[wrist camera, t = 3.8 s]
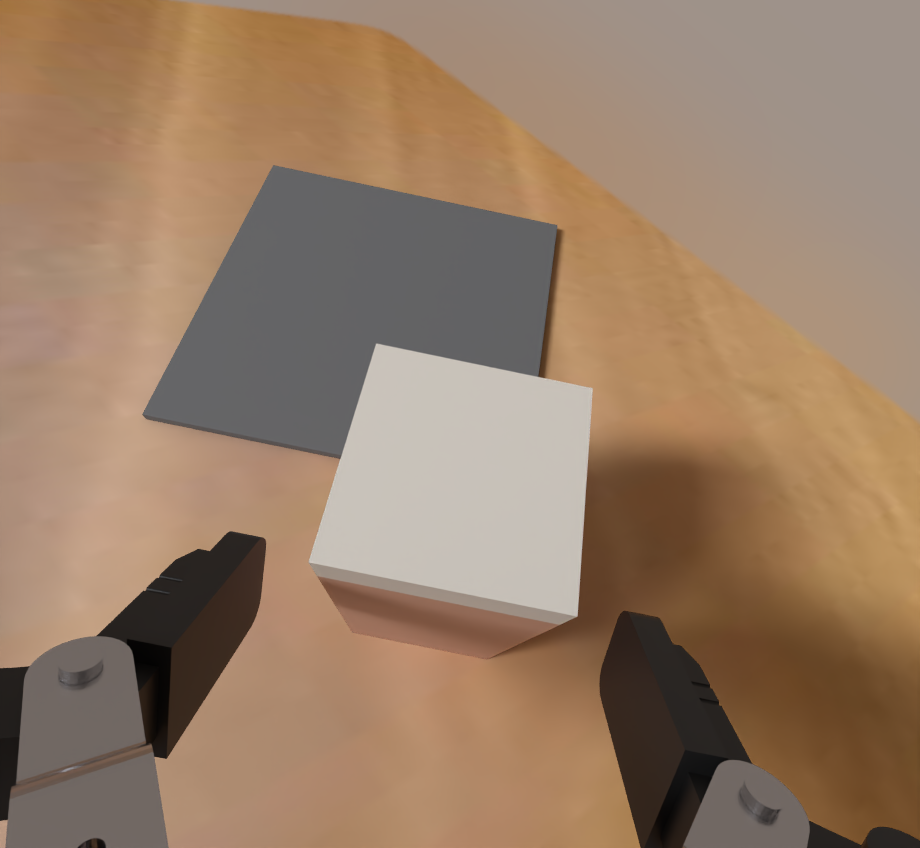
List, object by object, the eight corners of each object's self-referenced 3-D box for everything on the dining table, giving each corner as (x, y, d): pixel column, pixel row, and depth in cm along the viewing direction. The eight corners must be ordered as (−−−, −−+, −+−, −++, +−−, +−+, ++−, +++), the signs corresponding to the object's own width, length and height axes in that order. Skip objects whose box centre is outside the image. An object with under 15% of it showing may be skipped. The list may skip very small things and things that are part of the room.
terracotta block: (505, 527, 22) (592, 388, 12) (486, 659, 19) (577, 616, 10) (385, 503, 22) (376, 343, 12) (352, 632, 19) (308, 562, 10)
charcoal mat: (555, 230, 30) (557, 225, 30) (521, 495, 23) (523, 492, 22) (274, 171, 30) (273, 165, 29) (146, 418, 22) (142, 414, 22)
